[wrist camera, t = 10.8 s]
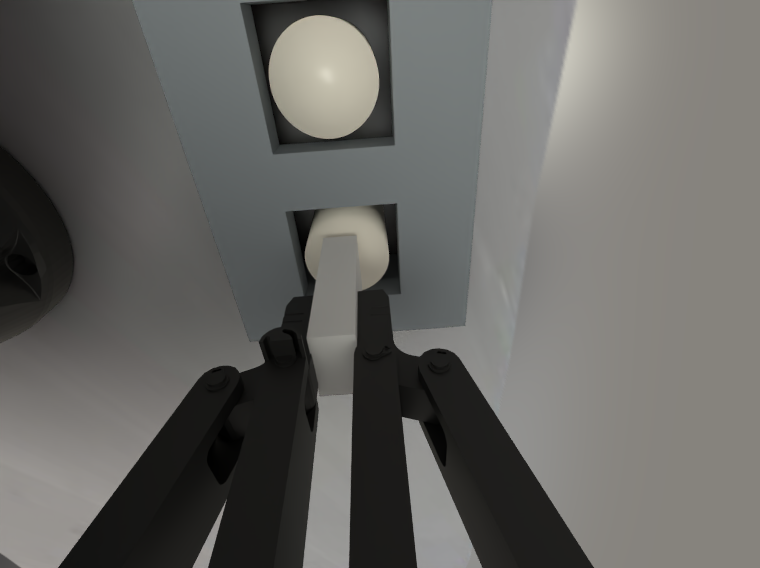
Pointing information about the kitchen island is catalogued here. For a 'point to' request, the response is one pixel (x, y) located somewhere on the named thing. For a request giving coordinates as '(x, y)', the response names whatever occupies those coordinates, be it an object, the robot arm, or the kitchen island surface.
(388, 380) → the robot arm
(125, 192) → the kitchen island surface
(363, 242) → the ivory egg
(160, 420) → the kitchen island surface
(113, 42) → the kitchen island surface
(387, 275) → the grey socket block
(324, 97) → the cream egg
